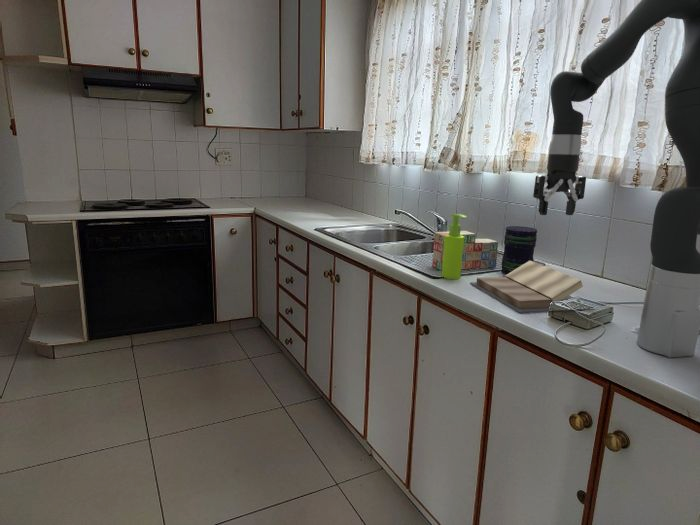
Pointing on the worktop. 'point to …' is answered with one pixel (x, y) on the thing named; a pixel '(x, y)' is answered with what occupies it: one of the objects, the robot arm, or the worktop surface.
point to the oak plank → (545, 281)
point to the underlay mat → (523, 310)
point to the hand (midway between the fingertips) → (556, 214)
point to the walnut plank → (513, 292)
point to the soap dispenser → (453, 250)
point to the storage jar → (518, 247)
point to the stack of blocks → (467, 251)
